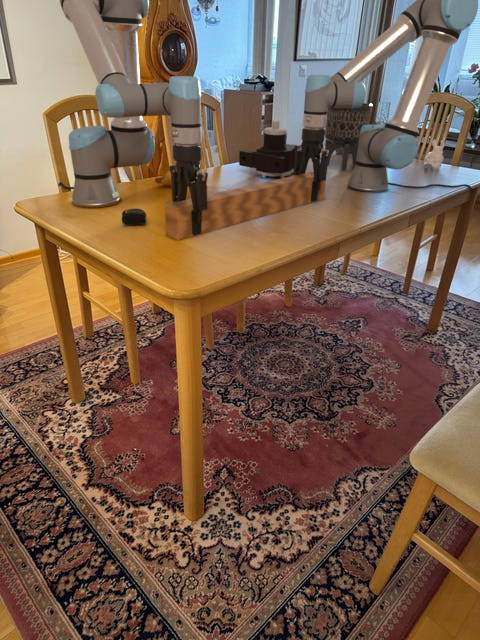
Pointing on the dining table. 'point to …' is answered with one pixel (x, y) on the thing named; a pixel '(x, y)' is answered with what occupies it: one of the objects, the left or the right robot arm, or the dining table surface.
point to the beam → (241, 204)
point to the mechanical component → (271, 154)
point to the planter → (345, 130)
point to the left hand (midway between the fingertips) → (190, 230)
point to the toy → (165, 179)
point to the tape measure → (133, 216)
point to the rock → (341, 151)
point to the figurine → (434, 156)
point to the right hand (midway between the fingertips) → (307, 198)
